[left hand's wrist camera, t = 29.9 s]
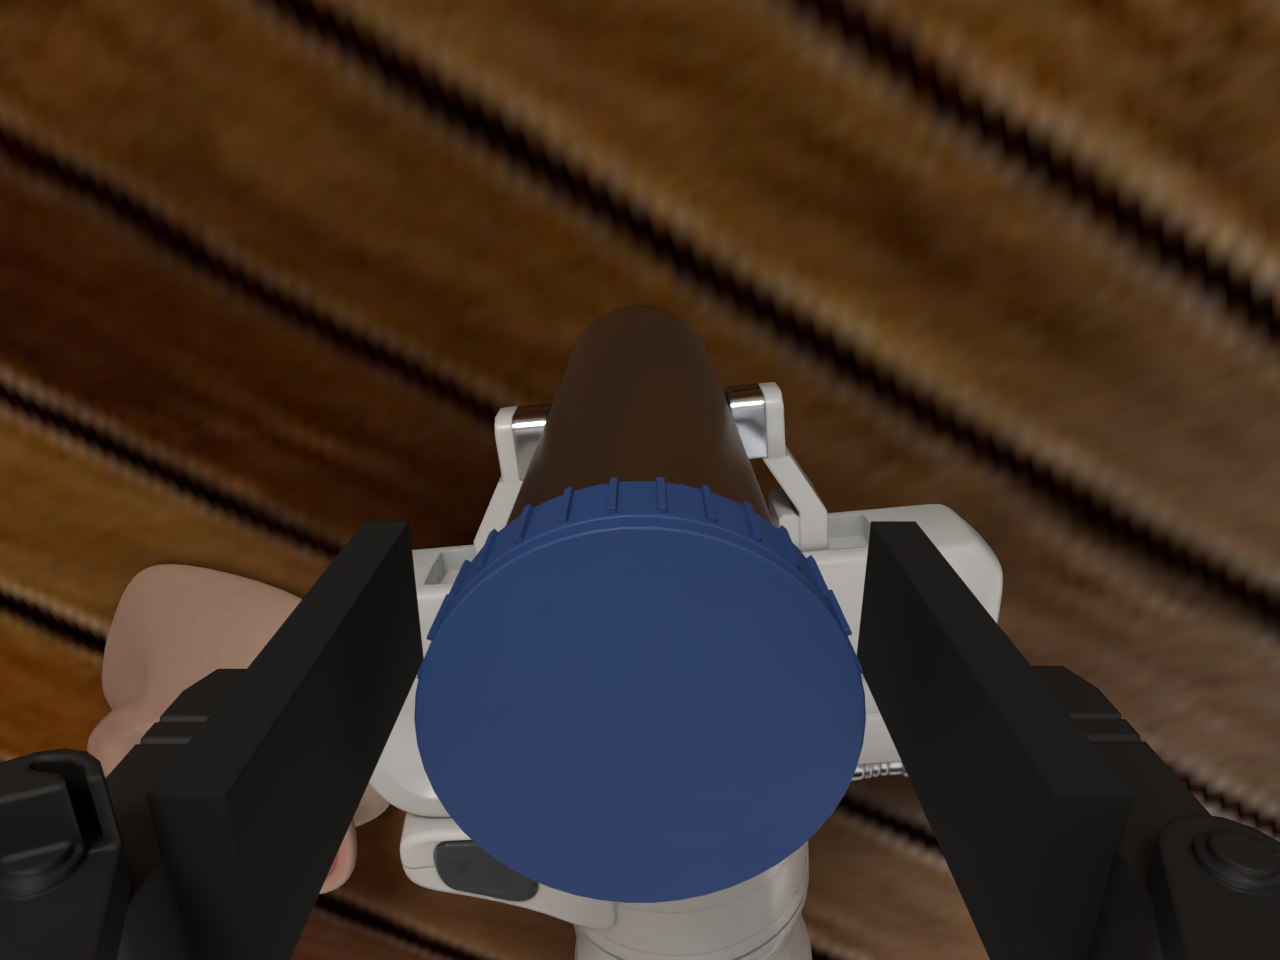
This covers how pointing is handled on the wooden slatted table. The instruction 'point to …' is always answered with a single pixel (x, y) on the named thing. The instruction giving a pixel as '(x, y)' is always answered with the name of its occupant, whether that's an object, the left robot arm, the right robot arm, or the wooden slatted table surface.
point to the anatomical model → (192, 660)
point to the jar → (640, 415)
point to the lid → (640, 694)
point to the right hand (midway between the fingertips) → (635, 399)
